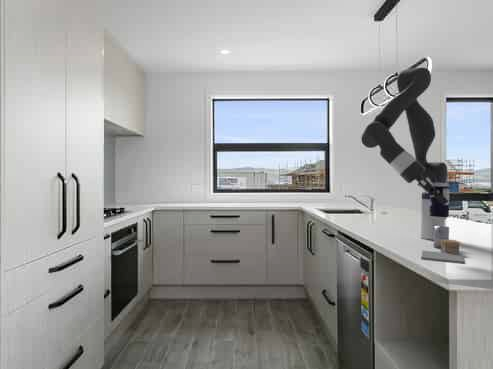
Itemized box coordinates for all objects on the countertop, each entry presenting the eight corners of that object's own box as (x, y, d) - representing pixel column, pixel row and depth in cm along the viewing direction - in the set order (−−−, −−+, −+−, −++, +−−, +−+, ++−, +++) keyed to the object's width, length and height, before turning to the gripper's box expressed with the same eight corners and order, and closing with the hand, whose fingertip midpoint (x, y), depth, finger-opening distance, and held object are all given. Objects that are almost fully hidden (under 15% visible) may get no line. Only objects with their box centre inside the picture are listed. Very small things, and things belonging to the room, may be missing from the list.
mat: (422, 252, 126) (422, 250, 126) (461, 256, 121) (461, 254, 121) (421, 259, 116) (421, 257, 116) (464, 263, 110) (464, 261, 110)
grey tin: (433, 245, 138) (434, 225, 138) (448, 247, 136) (448, 226, 136) (433, 248, 134) (434, 227, 134) (448, 249, 132) (449, 228, 132)
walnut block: (440, 251, 128) (440, 239, 128) (454, 252, 127) (454, 240, 127) (444, 254, 123) (444, 241, 123) (458, 255, 122) (459, 242, 122)
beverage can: (442, 217, 122) (443, 182, 122) (452, 219, 116) (453, 183, 116) (426, 217, 122) (427, 182, 121) (435, 219, 116) (436, 182, 116)
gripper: (414, 158, 116) (456, 195, 110) (417, 160, 128) (454, 194, 123) (396, 174, 118) (436, 211, 113) (401, 174, 131) (436, 208, 126)
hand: (445, 202), depth 118 cm, fingers closed on beverage can, 5 cm apart
